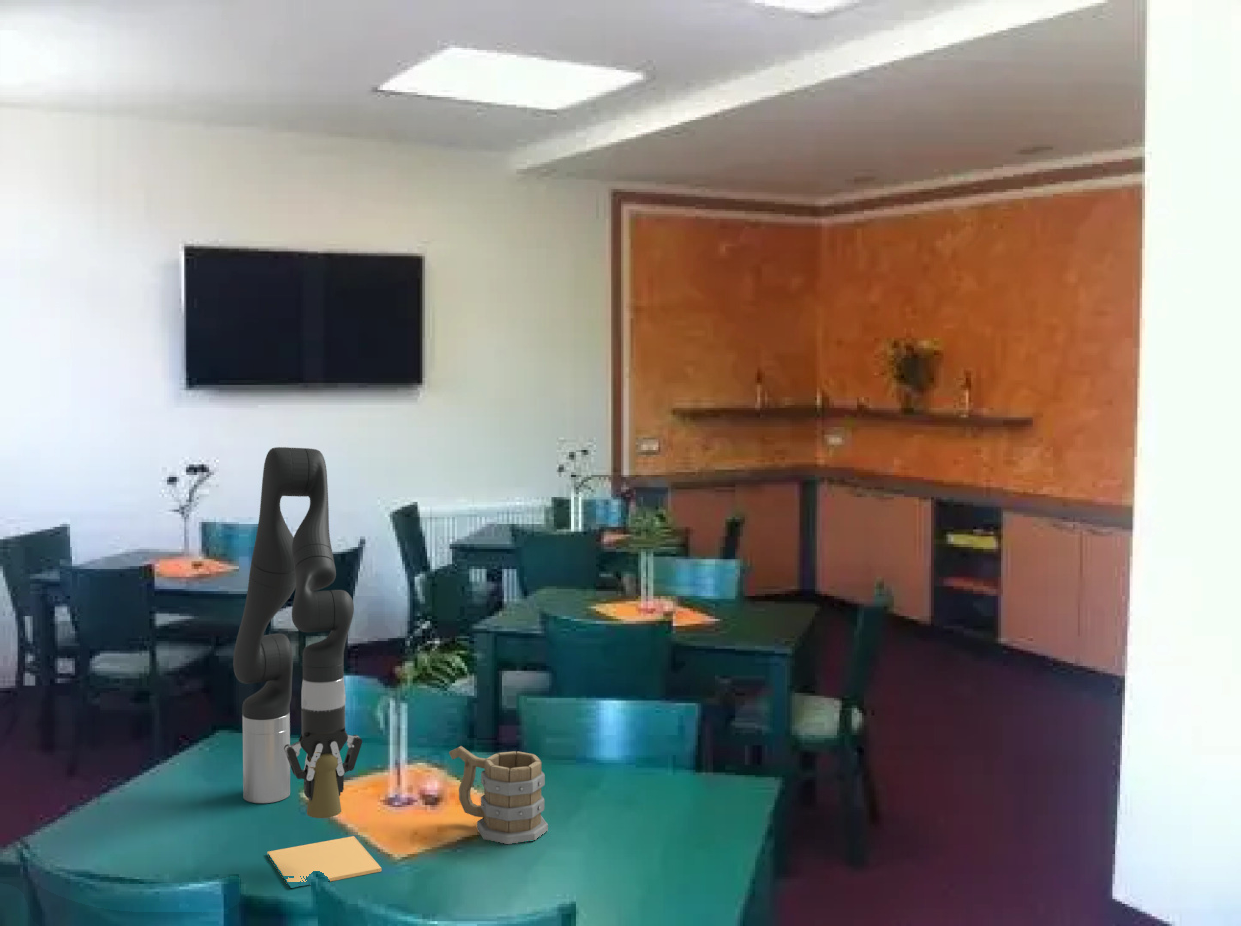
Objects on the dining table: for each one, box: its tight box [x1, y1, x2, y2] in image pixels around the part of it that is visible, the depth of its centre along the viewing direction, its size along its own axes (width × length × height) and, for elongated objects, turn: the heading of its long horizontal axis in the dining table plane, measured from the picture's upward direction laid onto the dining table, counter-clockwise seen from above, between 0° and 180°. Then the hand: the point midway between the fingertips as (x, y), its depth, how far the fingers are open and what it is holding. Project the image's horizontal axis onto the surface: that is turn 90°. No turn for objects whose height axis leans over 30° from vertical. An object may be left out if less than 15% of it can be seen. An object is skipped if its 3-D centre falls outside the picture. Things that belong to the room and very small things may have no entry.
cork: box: [306, 753, 342, 819], centre depth 222 cm, size 6×6×11 cm
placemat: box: [267, 835, 382, 882], centre depth 223 cm, size 16×16×1 cm
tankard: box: [448, 745, 549, 845], centre depth 240 cm, size 20×13×15 cm, turn 65°
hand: (323, 796), depth 222 cm, fingers closed on cork, 4 cm apart
